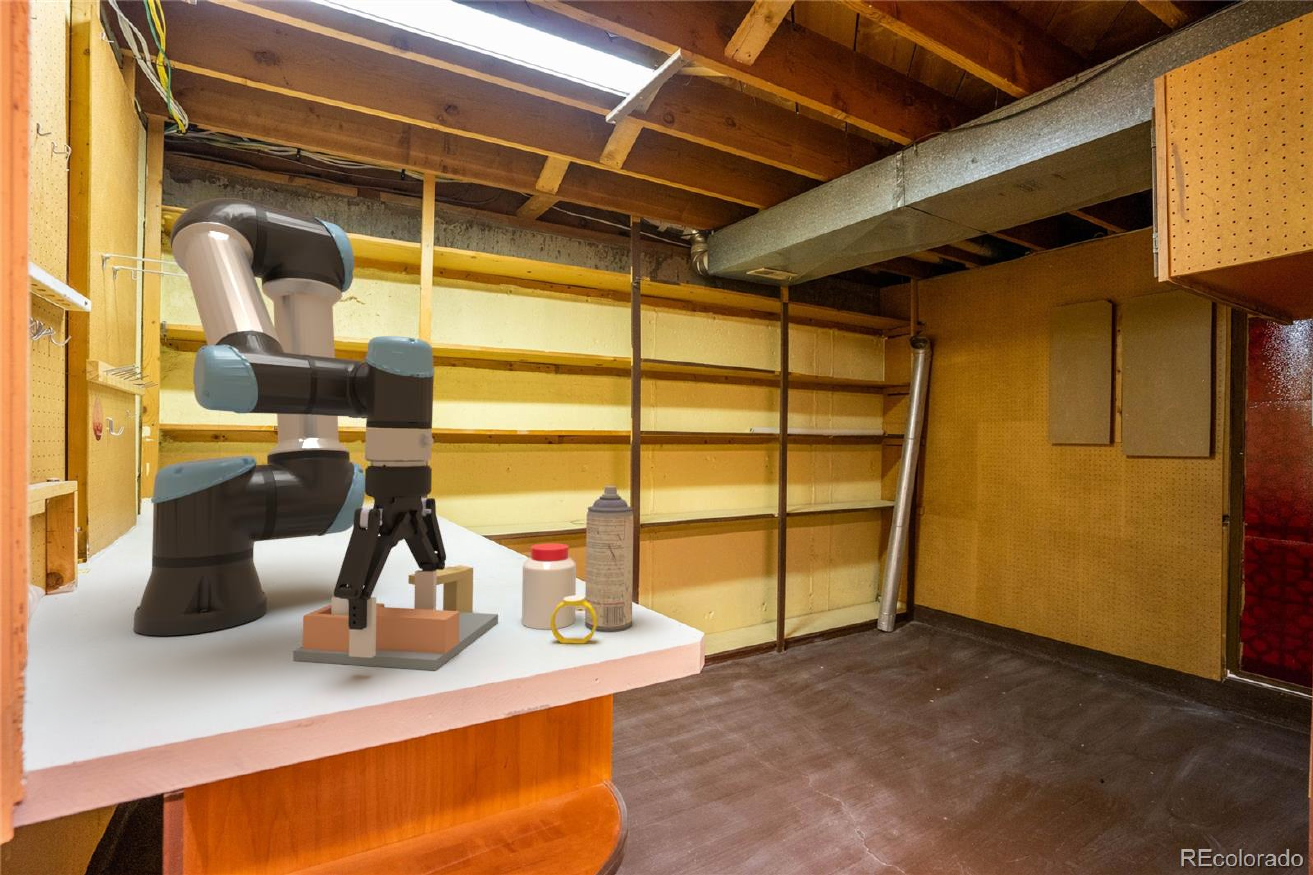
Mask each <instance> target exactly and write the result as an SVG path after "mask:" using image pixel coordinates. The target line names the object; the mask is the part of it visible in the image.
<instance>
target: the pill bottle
mask: <svg viewBox="0 0 1313 875" xmlns="http://www.w3.org/2000/svg"><path fill="white" fill-rule="evenodd" d="M576 577H577V563H576V561H574V559H572V558H571V557H570V556H569V545H568V544H565V543H552V542H549V543H548V542H546V543H539V544H534V545H531V547H530V557H529V558H527V559H526V561H525V562H524V563H523V564H522V581H521V582H522V587H521V588H522V590H521V591H522V593H521V600H522V601H521V603H522V604H521V623H522V625H523V626H524V627H527V628H530V629H534V630H551V617H552V614H553V612H554V611H555V609H556V608H557V606H558V605H559V604H560V603H562V602H563V599H564V598H565V597H568V596H577V593H576V592H577V591H576V590H577V589H576V585H577V582H576V581H577V579H576ZM575 621H576V606H567V605H565V606H563V607H562V608H560V609H559V610H558V612H557V613H556V616H555V625H556V628H557V630H558V629H562V628H566V627H569V626H571V625H573V624H574V623H575Z"/></svg>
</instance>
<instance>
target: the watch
mask: <svg viewBox="0 0 1313 875" xmlns="http://www.w3.org/2000/svg"><path fill="white" fill-rule="evenodd" d="M565 605H567V606H575V607H577V606H582V607H584V609H585V608H587V609H588V610H589V612H590V613H591V615H592V617H593V628H592V630H591V631H590V633H588V634H587V635H586V636H585V637H583V638H582V637H581V638H576V637H575V638H573V637H572V638H571V637H564V636H563V635H562V634H561V633H560V632H559V631H558V629H557V628H556V625H555V616H556V613H557V612H558V610H559V609H560V608H562V607H563V606H565ZM596 627H597V615H596V612H595V610H594V609H593V607H592V605H591V604H589V603H588V602H586V601H585V597H584V596H583V595H576V596H568V597H565V598H564V599H563V602H562V603H560V604H559V605H558V606H557V608H556V609H555V611H554V612H553V614H552V617H551V629H550V630H551V631H552V632H551V633H552V635H553V636H554V638H555V639H556V640H558V642H560V643H561V644H563V645H564V644H576V645H577V644H581V645H585V644H586V643H587V642H589V640H590V639H592V637H593V636H594V634H595V632H596V631H595V629H596Z"/></svg>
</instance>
